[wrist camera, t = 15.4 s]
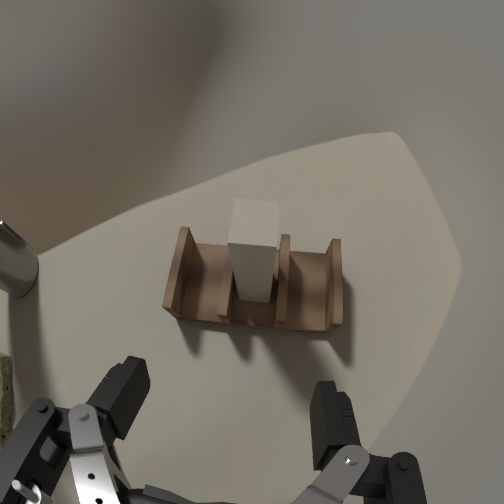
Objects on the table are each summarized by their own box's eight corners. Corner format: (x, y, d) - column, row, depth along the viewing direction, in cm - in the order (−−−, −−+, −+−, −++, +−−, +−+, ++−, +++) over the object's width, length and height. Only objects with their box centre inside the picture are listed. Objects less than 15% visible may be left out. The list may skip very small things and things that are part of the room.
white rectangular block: (269, 303, 32) (276, 246, 19) (239, 300, 32) (227, 242, 19) (272, 271, 33) (279, 201, 21) (243, 269, 34) (235, 198, 21)
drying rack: (330, 332, 31) (342, 323, 26) (175, 318, 32) (162, 306, 28) (330, 258, 35) (340, 239, 31) (190, 246, 37) (181, 226, 32)
